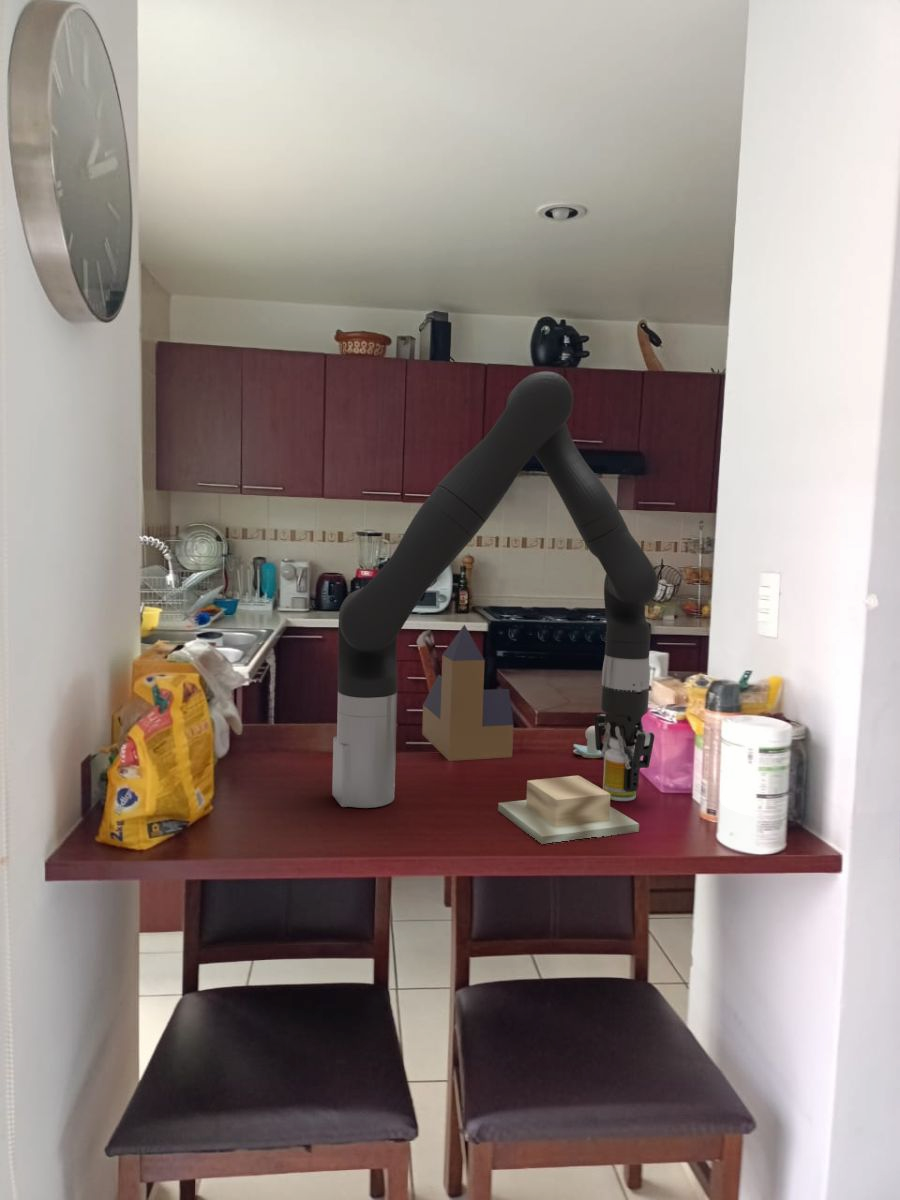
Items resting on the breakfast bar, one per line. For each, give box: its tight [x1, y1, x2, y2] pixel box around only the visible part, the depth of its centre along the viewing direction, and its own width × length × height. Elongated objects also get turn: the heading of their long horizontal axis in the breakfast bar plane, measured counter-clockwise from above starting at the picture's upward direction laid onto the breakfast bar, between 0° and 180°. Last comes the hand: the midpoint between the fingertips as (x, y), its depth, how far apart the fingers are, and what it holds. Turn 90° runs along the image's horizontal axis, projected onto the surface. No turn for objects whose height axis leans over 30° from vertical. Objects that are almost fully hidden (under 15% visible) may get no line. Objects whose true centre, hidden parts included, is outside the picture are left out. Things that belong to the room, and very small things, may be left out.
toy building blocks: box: [421, 624, 514, 762], centre depth 161 cm, size 12×19×25 cm, turn 17°
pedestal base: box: [497, 775, 640, 845], centre depth 123 cm, size 16×14×5 cm
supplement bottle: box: [602, 737, 637, 802], centre depth 135 cm, size 5×5×10 cm
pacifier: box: [573, 725, 603, 759], centre depth 158 cm, size 7×6×6 cm
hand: (619, 784), depth 135 cm, fingers closed on supplement bottle, 5 cm apart
